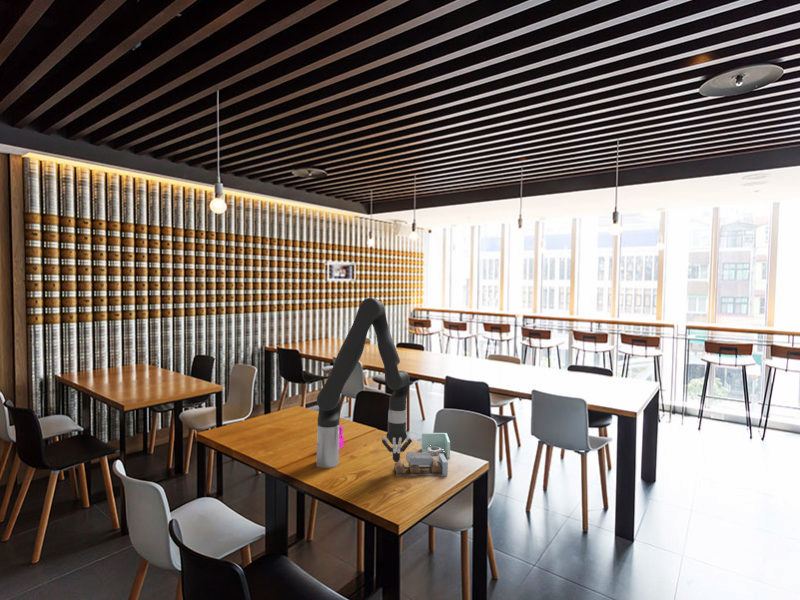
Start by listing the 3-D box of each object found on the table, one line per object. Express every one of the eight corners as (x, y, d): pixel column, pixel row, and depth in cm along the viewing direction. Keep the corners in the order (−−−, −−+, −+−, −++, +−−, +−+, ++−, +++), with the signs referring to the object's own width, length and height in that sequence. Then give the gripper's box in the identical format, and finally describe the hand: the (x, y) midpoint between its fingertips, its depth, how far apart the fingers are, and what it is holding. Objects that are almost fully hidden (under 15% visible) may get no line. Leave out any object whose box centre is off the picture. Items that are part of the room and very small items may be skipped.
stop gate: (442, 476, 176) (442, 462, 176) (438, 467, 185) (438, 453, 185) (447, 476, 177) (447, 462, 176) (442, 467, 185) (443, 453, 185)
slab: (409, 465, 177) (410, 458, 177) (405, 459, 182) (406, 452, 182) (432, 465, 179) (433, 458, 179) (428, 459, 185) (428, 452, 185)
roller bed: (396, 477, 175) (396, 468, 174) (394, 468, 183) (394, 459, 183) (442, 476, 177) (442, 466, 176) (438, 467, 185) (438, 458, 185)
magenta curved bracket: (336, 453, 200) (336, 437, 199) (323, 451, 201) (323, 435, 201) (347, 441, 214) (347, 426, 214) (335, 440, 216) (335, 425, 215)
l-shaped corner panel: (421, 448, 207) (421, 432, 207) (446, 448, 208) (446, 433, 207) (423, 458, 195) (423, 441, 195) (449, 458, 196) (450, 442, 195)
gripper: (411, 416, 183) (410, 457, 183) (380, 417, 181) (379, 457, 182) (414, 422, 175) (413, 464, 176) (381, 422, 174) (380, 465, 174)
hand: (396, 461), depth 179 cm, fingers closed
